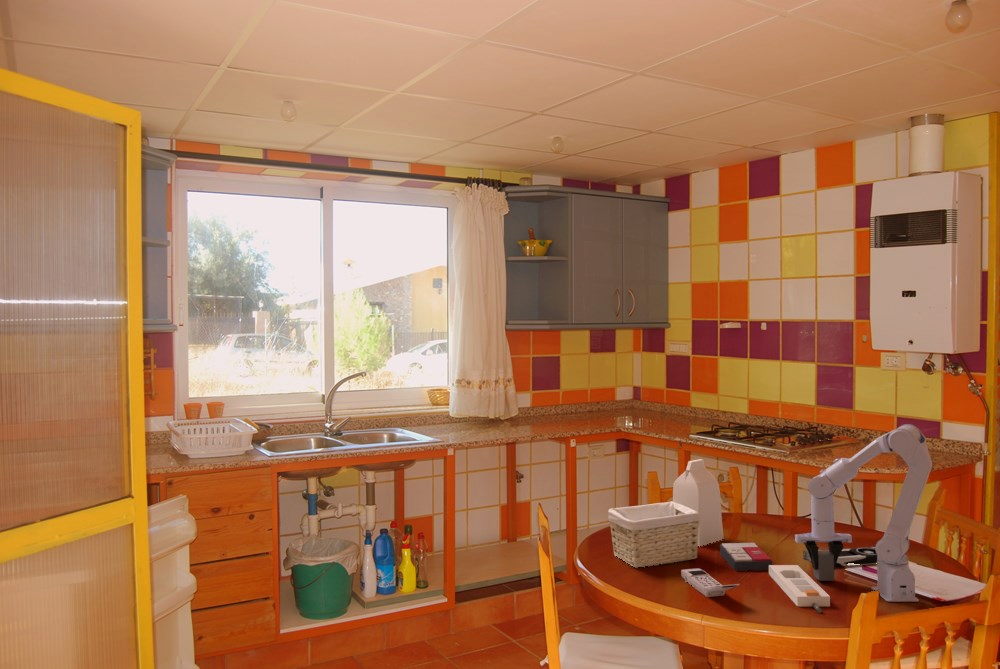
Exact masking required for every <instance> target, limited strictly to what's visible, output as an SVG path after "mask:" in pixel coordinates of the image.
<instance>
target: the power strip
mask: <svg viewBox="0 0 1000 669" xmlns="http://www.w3.org/2000/svg"><path fill="white" fill-rule="evenodd" d="M768 575H769V576H770V577H771V579H772V580H773V581H774V582H775V584H777V585H778V586H779V587H780V589H781V590H782V591H783V592H784V593H785V594H786V595H787V596H788V597H789V598H790V600H791V601H792V602H793V603H794V604H795V606H796V607H812V608H814V609H815V611H817V612H818V614H822V613H823V609H822V608H821V607H830V606H831V597H830V595H829V594H828V593H827V592H826V591H825V590H824V589H823V588H822V587H821V586H820V585H819V584H818V583H817V582H815V581H814V579H813V578H812V577H811V576H809V575H808V573H807V572H806V571H804V570H803V569H802V567H800V566H799V565H798V564H790V565H789V564H780V565H779V564H774V565H773V564H772V565H769V570H768Z"/></svg>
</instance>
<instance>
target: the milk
mask: <svg viewBox="0 0 1000 669" xmlns="http://www.w3.org/2000/svg"><path fill="white" fill-rule="evenodd" d="M720 489H721V488H720V484H719V481H718V480H717V478H715V476H714V475H713V474H712V473H711V472H710V471H709V470H708V469H707V467H706V465H705V460H704V459H702V458H699V459H695V460H688V462H687V466H686V469H685V471H684V472H683V473H681V474H680V475H679V476H678V477H677V478H676V479H675V480H674V482H673V487H672V502H675V503H678V504H681V505H683V506H685V507H688V508H690V509H692V510H695V511H697V512H698V513H699V527H698V546H699V548H700V546H701V547H704V546H707V544H708V545H710V544H709V543H711V544H714V543H717V542H716V541H718V542H720V541H719V540H721V541H723V540H722V539H724V528H723V517H722V515H723V514H722V503H721V491H720ZM678 515H682V514H680V513H678ZM713 542H714V543H713ZM703 545H704V546H703ZM698 546H697V547H698Z"/></svg>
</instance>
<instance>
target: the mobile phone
mask: <svg viewBox="0 0 1000 669" xmlns="http://www.w3.org/2000/svg"><path fill="white" fill-rule="evenodd" d="M680 575H681V577H682V579H683V580H684V582H685V583H686V582H688V583H687V584H689V585H690V586H691V585H692V586H691V587H693V588H694V589H695V590H696V591H698V592H699V593H701V594H702V595H703V596H705V597H706V598H711V597H712V598H714V597H720V596H721V597H722V596H725V593H726V591H727V590H730V589H734V588H736V587H738V586H740V583H738V584H736V583H735V584H727V585H726V584H725V585H723V584H721V583H720V582H719V581H717V580H716V579H715V578H713V577H712V576H711V575H710V574H709V573H707V572H706V571H705V570H703V569H701V568H687V569H681V571H680Z"/></svg>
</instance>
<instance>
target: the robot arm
mask: <svg viewBox="0 0 1000 669" xmlns="http://www.w3.org/2000/svg"><path fill="white" fill-rule="evenodd" d="M892 452H894V453H896V454H897V455H899V456H900V457H901V458H902V459H903V461H904V462H905V464H906V465H907V466H908V469H907V472H906V475H905V478H904V481H903V483H902V486H901V489H900V492H899V495H898V497H897V501H896V504H895V506H894V509H893V512H892V515H891V517H890V521H889V524H888V525H887V528H886V529H885V531H884V534H883V536H882V538H881V539H879V540H878V541H876V544H875V546H874V547H875V550H876V553H877V555H878V556H877V565H876V566H877V567H876V568H877V574H876V575H877V586H872V587H871V590H873V591H874V590H878V591H879V592H880V595H879V596H880V597H881V599H883V600H885V601H886V602H888V603H889V602H891V603H892V602H894V603H895V602H903V603H904V602H909V603H910V602H919V598H918V597H916V577H915V575H914V573H913V571H912V570H911V569H910V566H909V558H908V556H907V555H906V553H907V552H908V550H909V549H910V539H909V537H910V533H911V527H912V524H913V522H914V521H913V520H914V519H915V515H916V513H917V510H918V508H919V507H918V506H919V504H920V501H921V499H922V497H923V496H922V495H923V493H924V490H925V487H926V484H927V482H928V479H929V475H930V473H931V470H932V467H933V461H932V458H931V455H930V452H929V448H928V444H927V438H926V437H925V435H924V434H923V432H922V431H921V430H920V429H919V428H918V427H917V426H915V425H914V424H908V423H906V424H901V425H900V426H899V427H897V428H895V429H893V430H891V431H889V432H887V433H885V434H883V435H881V436H879V437H877V438H875V439H874V440H873V441H872V442H870V443H869V444H867V445H866V446H865V447H863V448H862V449H861V450H860V451H858V452H857V453H856V454H853V456H852V457H850V458H846V457H840V458H835V460H833V463H832V464H831V465H830V466H829V467H827V468H825V469H822V470H820V471H819V473H820V474H818V475H816V476H813V477H812V478H811V479H810V481H808V485H807V486H808V487H807V489H808V492H809V493H810V494H811V498H810V499H811V501H810V506H811V507H810V512H811V513H810V515H811V516H810V517H811V532H807V533H799V534H798V533H797V534H794V541H795V543H797V544H802V543H803V544H804V546H805V548H806V550H808V553H809V555H810V558H811V566H812V569H813V570H814V569H815V570H818V550H820V549H819V548H820V547H819V546H818V545H817V543H827V545H828V550H829V551H830V552H831V553H832V554H833V555H834V571H835V570H836V568H837V567H836V562H837V559H838V557H839V555H840V553H841V551H842V549H844V544H843V543H848V544H852V543H853V540H852V539H853V537H852V535H851V534H850V533H839V532H835V502H834V492H835V491H836V490H837V489H839V488H842V486H844V485H846V484H847V483H848V482H850V481H851V480H853V479H854V478H855V477H858V475H859V474H858V473H859V468H860V467H862V466H863V465H865V464H866V463H868V462H870V460H872V459H874V458H875V457H877V456H878V455H880V454H883V453H885V454H886V453H887V454H889V453H892Z"/></svg>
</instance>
